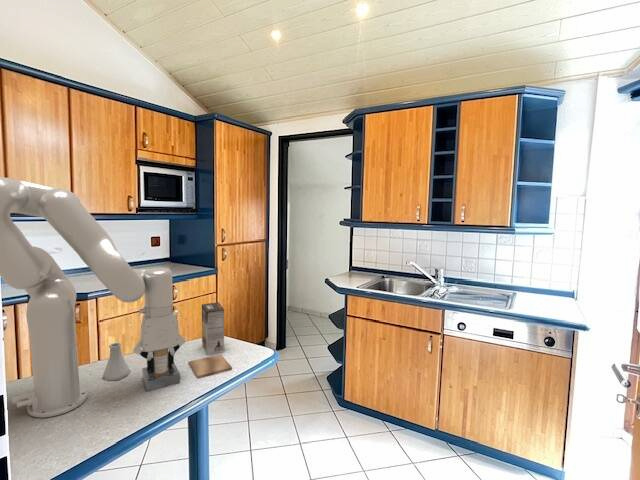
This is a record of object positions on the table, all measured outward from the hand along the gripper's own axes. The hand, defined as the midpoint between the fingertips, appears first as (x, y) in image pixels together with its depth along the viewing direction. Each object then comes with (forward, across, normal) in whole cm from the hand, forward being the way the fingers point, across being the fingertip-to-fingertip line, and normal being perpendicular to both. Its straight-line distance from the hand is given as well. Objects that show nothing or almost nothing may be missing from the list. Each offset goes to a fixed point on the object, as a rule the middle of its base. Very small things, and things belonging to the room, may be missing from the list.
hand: (160, 368), depth 106 cm
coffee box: (+4, +20, +14) cm, 25 cm away
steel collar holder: (+4, 0, 0) cm, 4 cm away
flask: (+4, -11, +10) cm, 15 cm away
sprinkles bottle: (+4, 0, 0) cm, 4 cm away
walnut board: (+4, +15, +1) cm, 16 cm away
